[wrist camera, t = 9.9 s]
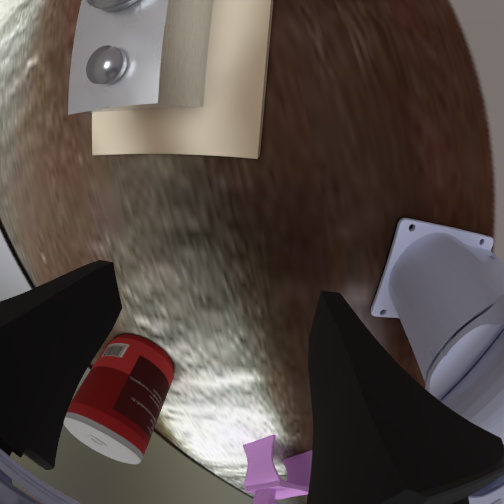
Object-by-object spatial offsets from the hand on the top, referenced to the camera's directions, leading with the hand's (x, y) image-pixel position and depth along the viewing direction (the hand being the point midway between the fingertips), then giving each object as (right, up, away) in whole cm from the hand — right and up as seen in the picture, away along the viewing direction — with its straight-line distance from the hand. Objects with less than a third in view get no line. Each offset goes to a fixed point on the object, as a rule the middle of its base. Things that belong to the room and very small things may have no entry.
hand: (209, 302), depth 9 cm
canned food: (-10, -9, +17) cm, 22 cm away
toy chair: (+6, -27, +24) cm, 36 cm away
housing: (-3, +13, +3) cm, 14 cm away
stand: (-3, +14, +5) cm, 15 cm away
